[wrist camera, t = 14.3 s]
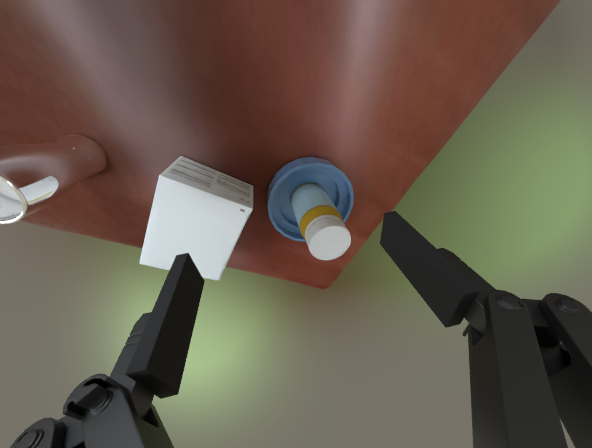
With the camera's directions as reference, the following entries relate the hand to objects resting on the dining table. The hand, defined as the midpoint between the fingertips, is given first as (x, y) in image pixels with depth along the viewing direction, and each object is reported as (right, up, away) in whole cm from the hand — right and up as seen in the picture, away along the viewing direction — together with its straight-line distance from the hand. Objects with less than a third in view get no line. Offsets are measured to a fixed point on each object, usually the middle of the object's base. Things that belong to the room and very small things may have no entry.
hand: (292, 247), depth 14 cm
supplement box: (-17, +5, +27) cm, 32 cm away
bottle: (+3, +7, +28) cm, 29 cm away
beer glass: (-33, +12, +18) cm, 39 cm away
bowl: (+2, +7, +29) cm, 30 cm away
